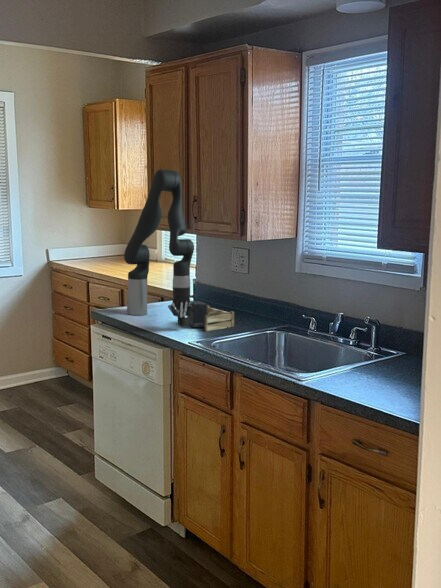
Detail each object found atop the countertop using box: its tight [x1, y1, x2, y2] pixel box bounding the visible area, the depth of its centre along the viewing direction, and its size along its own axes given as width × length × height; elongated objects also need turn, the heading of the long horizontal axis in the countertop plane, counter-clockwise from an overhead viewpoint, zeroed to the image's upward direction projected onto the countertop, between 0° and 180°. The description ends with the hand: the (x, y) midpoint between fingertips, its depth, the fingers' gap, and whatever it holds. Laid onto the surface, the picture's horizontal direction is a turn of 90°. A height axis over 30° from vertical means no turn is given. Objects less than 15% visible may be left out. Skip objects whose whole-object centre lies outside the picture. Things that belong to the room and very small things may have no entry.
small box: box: [186, 300, 208, 328], centre depth 284 cm, size 11×6×10 cm, turn 19°
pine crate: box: [184, 304, 235, 332], centre depth 287 cm, size 18×16×7 cm
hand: (181, 325), depth 276 cm, fingers closed
